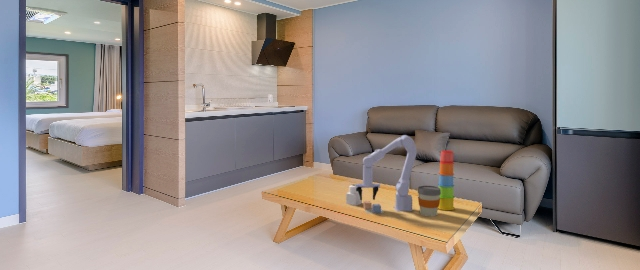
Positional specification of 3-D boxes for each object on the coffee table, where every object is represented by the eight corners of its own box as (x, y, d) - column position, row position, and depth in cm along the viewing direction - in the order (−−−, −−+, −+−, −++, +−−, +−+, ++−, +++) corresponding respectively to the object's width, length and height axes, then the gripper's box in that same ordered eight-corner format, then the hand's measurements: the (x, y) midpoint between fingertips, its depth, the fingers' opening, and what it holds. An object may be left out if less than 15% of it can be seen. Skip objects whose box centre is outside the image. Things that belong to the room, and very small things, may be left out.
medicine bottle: (352, 201, 233) (352, 183, 232) (361, 203, 229) (362, 184, 227) (346, 204, 228) (346, 185, 226) (355, 206, 223) (355, 187, 222)
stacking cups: (433, 207, 220) (434, 151, 216) (443, 204, 226) (444, 149, 222) (448, 212, 211) (450, 153, 208) (458, 208, 218) (460, 151, 214)
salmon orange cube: (369, 207, 219) (370, 201, 219) (371, 209, 215) (371, 202, 215) (363, 207, 219) (363, 201, 219) (364, 209, 215) (364, 203, 215)
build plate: (379, 208, 219) (379, 207, 219) (384, 213, 209) (384, 212, 209) (363, 208, 219) (363, 207, 218) (367, 213, 209) (367, 213, 209)
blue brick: (379, 210, 213) (379, 203, 213) (380, 212, 209) (380, 206, 209) (372, 210, 213) (372, 204, 212) (374, 213, 209) (374, 206, 208)
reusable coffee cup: (413, 211, 213) (413, 186, 212) (432, 209, 216) (433, 184, 215) (424, 218, 201) (424, 191, 199) (444, 216, 204) (445, 190, 202)
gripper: (378, 175, 220) (377, 197, 221) (354, 175, 219) (354, 197, 220) (381, 178, 213) (380, 200, 214) (356, 178, 212) (356, 201, 213)
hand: (367, 199), depth 217 cm, fingers open, 7 cm apart
